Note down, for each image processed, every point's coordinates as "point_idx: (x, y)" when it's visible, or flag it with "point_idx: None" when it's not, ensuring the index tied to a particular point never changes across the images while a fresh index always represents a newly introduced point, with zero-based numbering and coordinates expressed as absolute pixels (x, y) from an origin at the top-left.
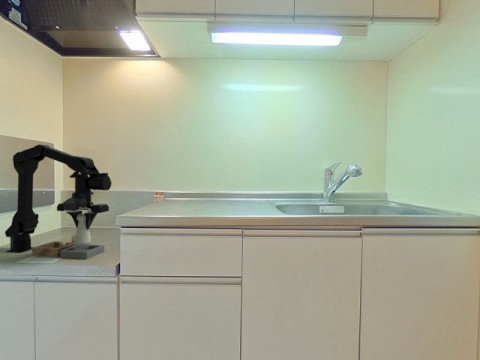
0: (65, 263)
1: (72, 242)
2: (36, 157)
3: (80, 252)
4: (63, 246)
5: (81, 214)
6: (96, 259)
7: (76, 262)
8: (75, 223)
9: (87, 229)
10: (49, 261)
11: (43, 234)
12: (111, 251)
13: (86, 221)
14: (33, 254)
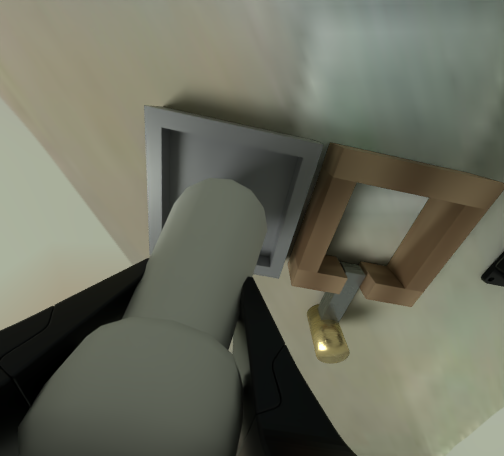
0: (232, 3)
1: (316, 286)
2: None
3: (189, 114)
4: (332, 214)
5: None
6: (110, 102)
7: (180, 31)
8: (263, 317)
9: (146, 262)
10: (345, 52)
11: (471, 417)
12: (133, 239)
13: (75, 314)
14: (466, 172)
